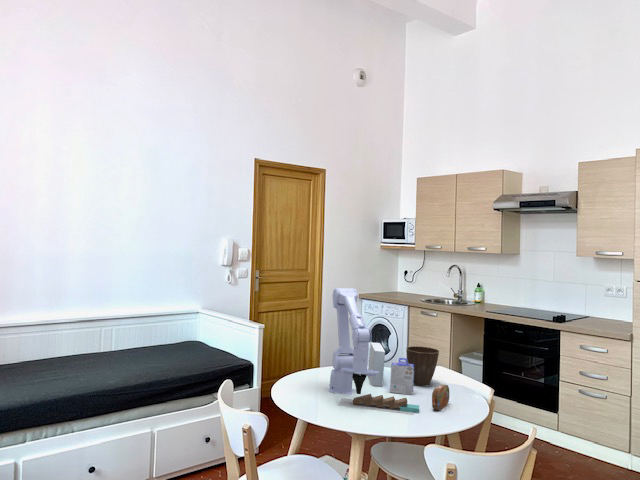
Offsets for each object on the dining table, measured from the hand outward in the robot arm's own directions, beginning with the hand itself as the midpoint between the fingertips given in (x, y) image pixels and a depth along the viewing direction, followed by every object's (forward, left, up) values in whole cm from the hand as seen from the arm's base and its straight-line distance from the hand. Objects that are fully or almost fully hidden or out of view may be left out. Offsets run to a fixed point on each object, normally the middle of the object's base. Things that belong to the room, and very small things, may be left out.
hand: (358, 393), depth 193 cm
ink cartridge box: (+15, +24, -5) cm, 29 cm away
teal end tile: (+16, 0, -3) cm, 17 cm away
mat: (+7, 0, -4) cm, 8 cm away
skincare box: (+2, +39, -5) cm, 39 cm away
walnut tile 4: (+12, 0, -3) cm, 13 cm away
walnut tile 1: (-2, 0, -3) cm, 4 cm away
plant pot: (+23, +41, -5) cm, 47 cm away
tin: (+31, +9, -5) cm, 33 cm away
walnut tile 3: (+7, 0, -3) cm, 8 cm away
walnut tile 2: (+3, 0, -3) cm, 4 cm away
